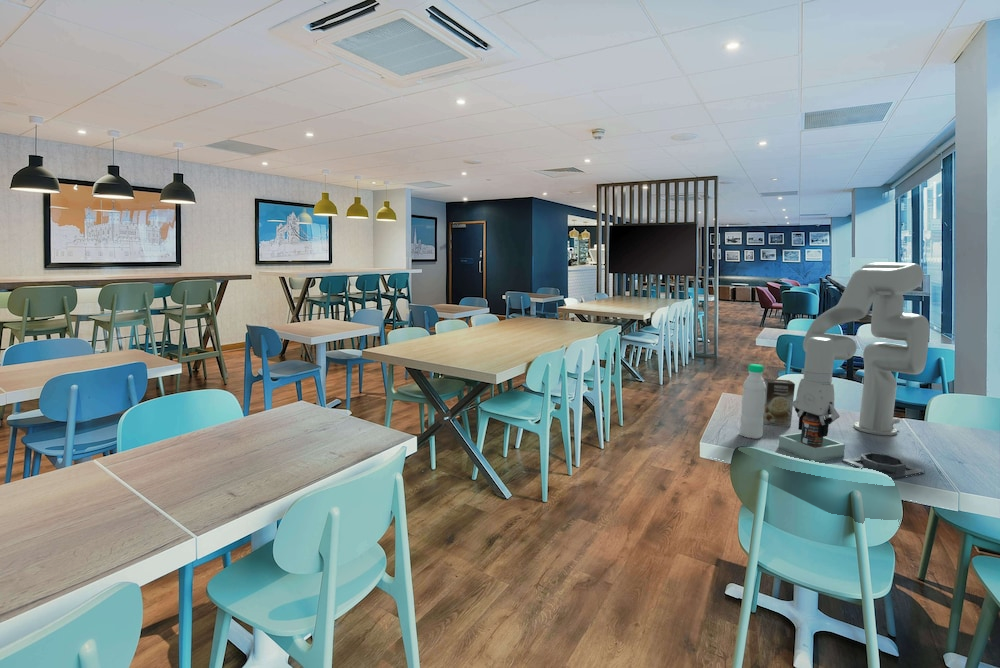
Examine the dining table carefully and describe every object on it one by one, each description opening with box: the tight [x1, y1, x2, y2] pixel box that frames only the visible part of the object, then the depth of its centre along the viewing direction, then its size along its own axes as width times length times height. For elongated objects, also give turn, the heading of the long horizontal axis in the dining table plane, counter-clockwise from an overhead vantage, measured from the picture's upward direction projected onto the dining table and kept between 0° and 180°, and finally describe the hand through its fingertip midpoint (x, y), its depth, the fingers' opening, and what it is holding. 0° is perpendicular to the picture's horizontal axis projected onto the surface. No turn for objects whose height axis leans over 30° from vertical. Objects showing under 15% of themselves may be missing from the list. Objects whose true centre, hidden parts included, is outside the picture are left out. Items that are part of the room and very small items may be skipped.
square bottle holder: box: [841, 452, 925, 481], centre depth 151 cm, size 14×14×2 cm
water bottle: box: [739, 363, 766, 440], centre depth 176 cm, size 7×7×25 cm
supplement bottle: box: [800, 413, 823, 448], centre depth 162 cm, size 6×6×11 cm
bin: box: [778, 431, 846, 462], centre depth 163 cm, size 13×13×4 cm
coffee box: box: [763, 378, 796, 427], centre depth 191 cm, size 9×6×16 cm
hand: (812, 432), depth 162 cm, fingers open, 6 cm apart
